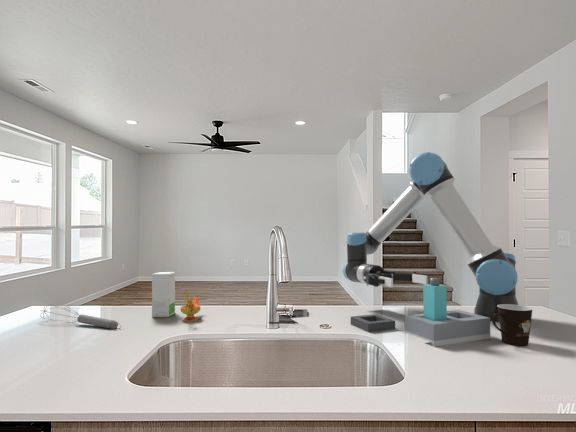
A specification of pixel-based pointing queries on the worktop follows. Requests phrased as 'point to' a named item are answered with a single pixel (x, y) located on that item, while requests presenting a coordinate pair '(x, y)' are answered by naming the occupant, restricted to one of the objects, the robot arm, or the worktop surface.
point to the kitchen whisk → (89, 319)
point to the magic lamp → (190, 307)
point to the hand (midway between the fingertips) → (409, 281)
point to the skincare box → (163, 294)
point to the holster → (372, 323)
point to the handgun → (296, 314)
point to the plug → (434, 301)
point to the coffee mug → (514, 324)
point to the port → (449, 328)
